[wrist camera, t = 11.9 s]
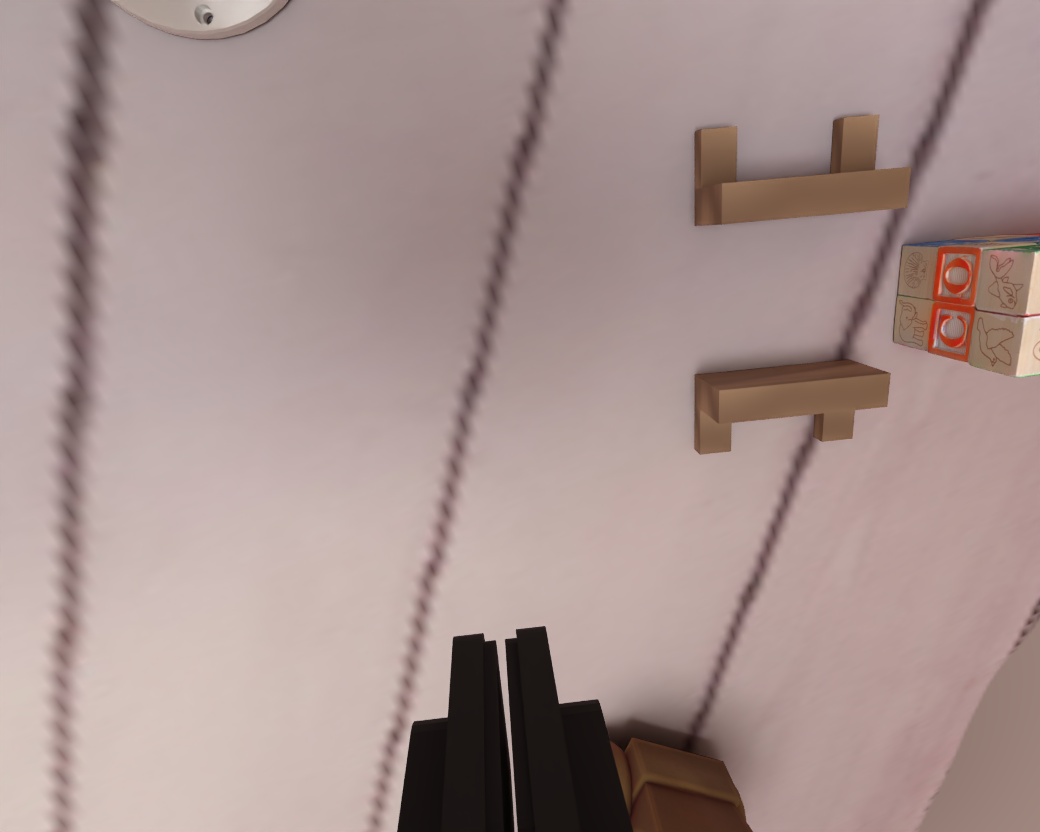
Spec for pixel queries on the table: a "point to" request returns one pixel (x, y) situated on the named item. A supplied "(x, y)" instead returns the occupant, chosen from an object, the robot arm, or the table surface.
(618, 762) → the wooden toy train
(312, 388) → the table surface
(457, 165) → the table surface
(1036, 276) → the stack of blocks
